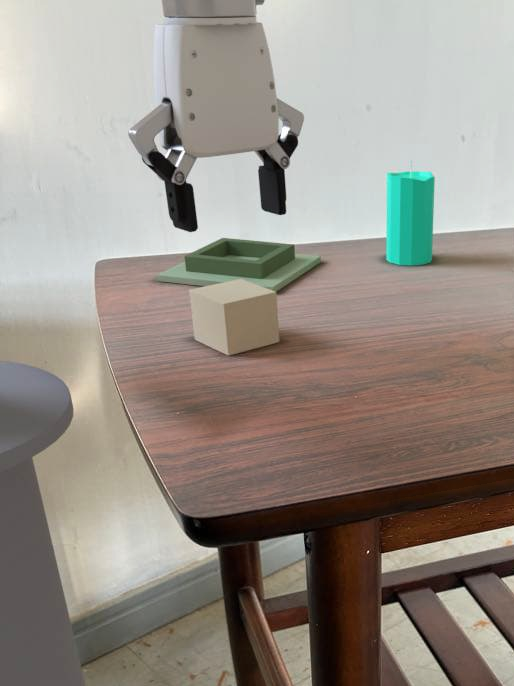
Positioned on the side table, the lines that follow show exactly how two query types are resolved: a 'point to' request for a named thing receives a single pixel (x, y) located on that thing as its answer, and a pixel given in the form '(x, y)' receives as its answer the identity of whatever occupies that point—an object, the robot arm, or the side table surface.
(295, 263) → the base pad
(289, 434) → the side table surface
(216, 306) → the beige cube block
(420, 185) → the candle
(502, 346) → the side table surface
